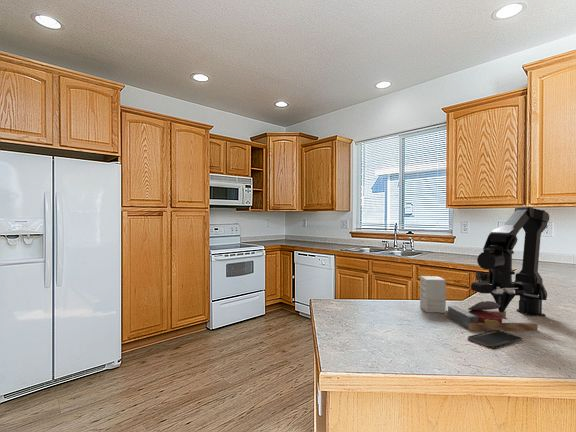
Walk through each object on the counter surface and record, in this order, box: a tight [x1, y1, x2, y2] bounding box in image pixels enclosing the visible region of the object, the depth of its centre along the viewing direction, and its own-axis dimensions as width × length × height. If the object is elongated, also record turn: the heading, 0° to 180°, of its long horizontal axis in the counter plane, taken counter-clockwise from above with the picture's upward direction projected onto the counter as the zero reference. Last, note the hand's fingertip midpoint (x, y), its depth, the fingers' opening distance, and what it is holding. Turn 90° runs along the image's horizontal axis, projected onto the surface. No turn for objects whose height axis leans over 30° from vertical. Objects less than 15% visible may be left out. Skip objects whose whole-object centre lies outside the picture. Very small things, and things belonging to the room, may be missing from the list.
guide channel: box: [445, 309, 538, 332], centre depth 109 cm, size 22×15×2 cm
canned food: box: [467, 300, 503, 323], centre depth 108 cm, size 11×10×10 cm
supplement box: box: [419, 275, 447, 314], centre depth 123 cm, size 7×7×13 cm
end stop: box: [447, 305, 478, 330], centre depth 108 cm, size 3×12×4 cm, turn 4°
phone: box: [467, 330, 523, 350], centre depth 93 cm, size 8×1×15 cm
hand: (501, 312), depth 109 cm, fingers closed
